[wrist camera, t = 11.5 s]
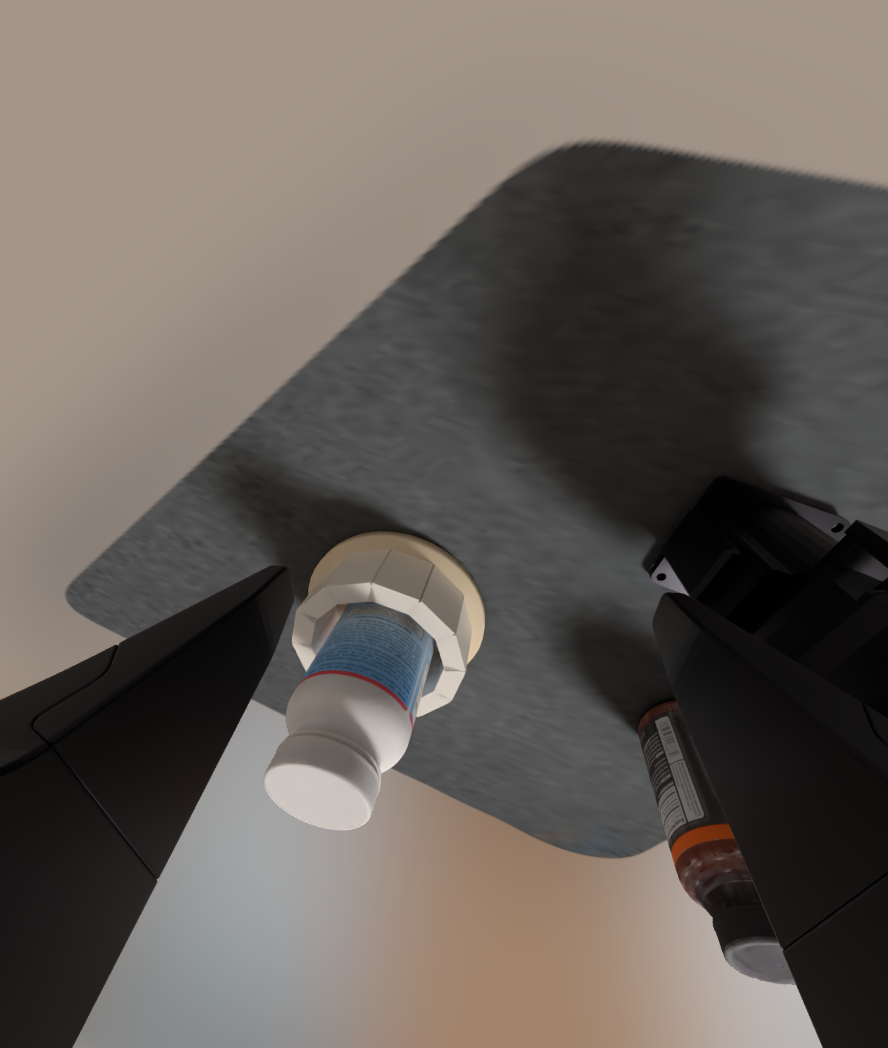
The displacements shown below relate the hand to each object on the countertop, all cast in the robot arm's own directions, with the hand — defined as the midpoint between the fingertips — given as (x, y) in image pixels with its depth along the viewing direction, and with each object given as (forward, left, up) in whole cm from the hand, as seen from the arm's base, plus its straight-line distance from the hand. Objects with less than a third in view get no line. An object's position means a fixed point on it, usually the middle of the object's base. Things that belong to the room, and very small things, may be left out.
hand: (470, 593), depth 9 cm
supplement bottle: (-18, +14, -12) cm, 26 cm away
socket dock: (+3, +13, -12) cm, 18 cm away
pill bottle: (+2, +12, -12) cm, 17 cm away
